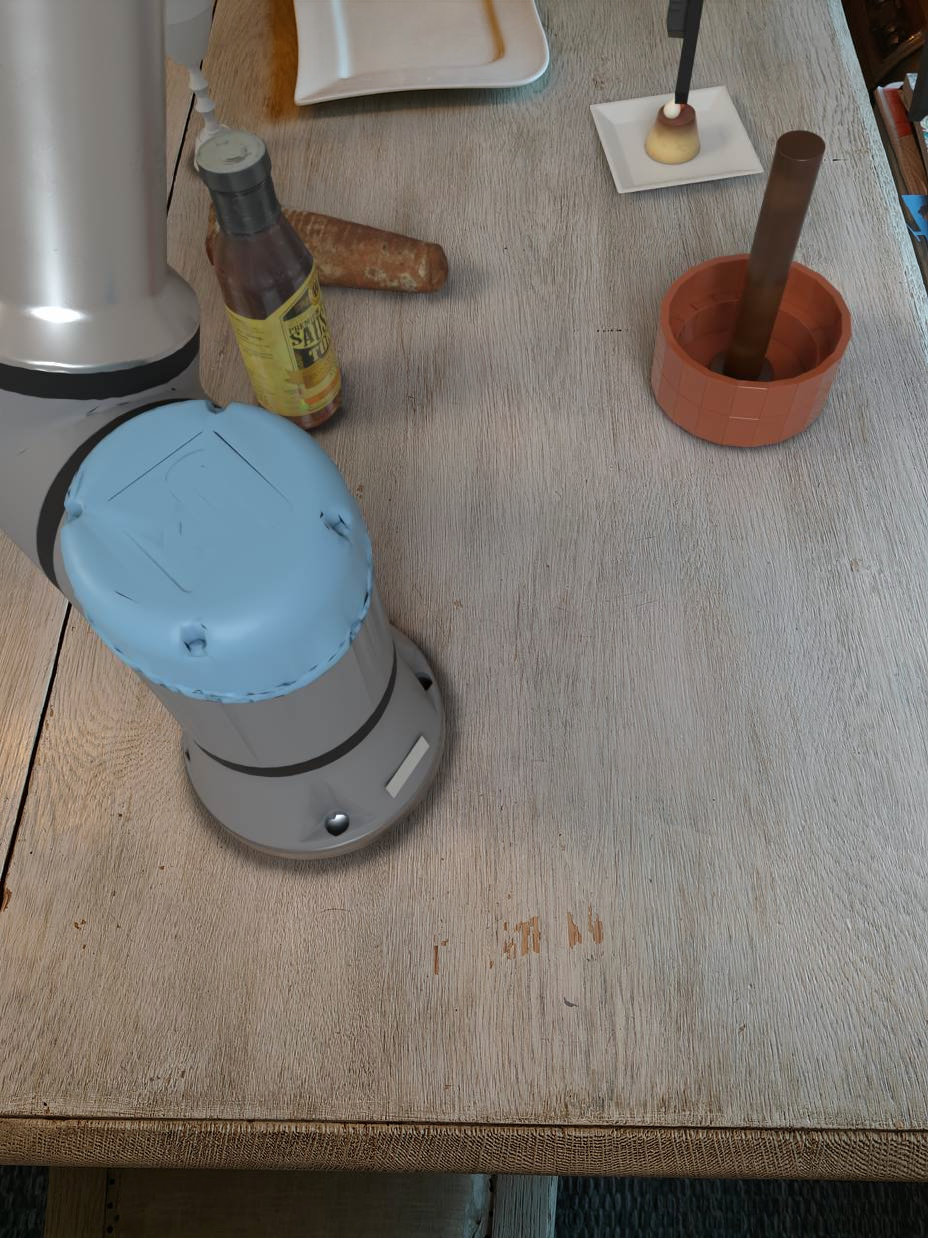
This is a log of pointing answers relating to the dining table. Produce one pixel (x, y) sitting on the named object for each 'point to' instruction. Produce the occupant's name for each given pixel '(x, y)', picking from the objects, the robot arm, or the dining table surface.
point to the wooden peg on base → (771, 255)
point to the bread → (360, 253)
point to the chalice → (193, 56)
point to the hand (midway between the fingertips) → (797, 108)
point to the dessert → (674, 140)
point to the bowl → (796, 351)
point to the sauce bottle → (269, 284)
